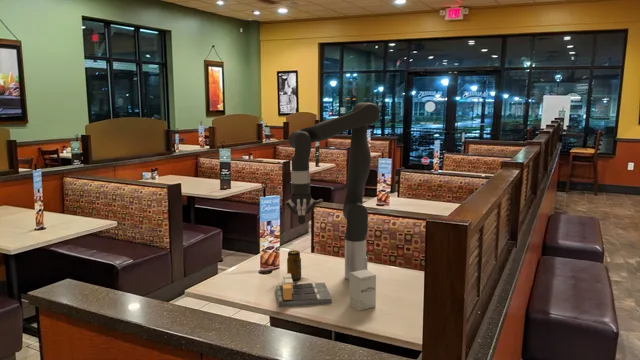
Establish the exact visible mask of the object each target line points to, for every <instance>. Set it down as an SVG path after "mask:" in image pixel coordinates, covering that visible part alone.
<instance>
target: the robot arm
mask: <svg viewBox="0 0 640 360" xmlns="http://www.w3.org/2000/svg"><path fill="white" fill-rule="evenodd" d="M380 116H381V112H380V108H379V106H378V105H376V104H375V103H372V102H358V103H356V104H355V105H354V106H353V107H352V111H351V113H348V114H345V115H340V116H338V117H334V118H328V119H327V120H323V121H321V122H318V123H316V124H313V125H311V126H308V127H304V128H301V129H300V128H299V129H297V130H295V131H293V132H291V134H290V135H288V136H289V137H288V144H289V146H290V147H292V148H293V149H294V152H293V153H294V155H293V156H292V157H291V162H290V163H291V173H290V174H291V175H290V178H291V179H290V182H291V183H290V188H291V195H290V197H289V198H290V199H288V200H287V201H285V205H286V206H287V207H288V209H289V210H290V211H291V212H292V213H293V214H294V215H297V222H298V224H299V225H304V223H305V222H306V215H307V214H310V213H311V212H312V211H313V209H314V207H316V205H317V201H316V200H315V199H313V198H312V195H311V174H310V157H311V151H312V143H313V144H314V143H319V142H322V141H326V140H327V139H329V138H332V137H334V136H335V137H336V136H337V135H340V134H342V133H344V132H347V131H350V130H351V131H350V132H351V137H350V147H349V148H350V149H349V155H348V156H349V157H348V165H347V177H346V178H347V179H346V181H347V182H346V192H345V198H344V201H343V207H342V214H343V217H344V219H345V220H346V231H345V232H344V278H345V279H346V280H348V281H350V272H355V271H361V270H368V257H367V234H368V229H369V227H368V226H369V212H368V209H367V208H366V206H365V205H363V193H364V188H365V186H366V183H367V180H368V178H369V175H370V171H371V163H372V162H371V160H372V156H371V149H370V146H369V143H368V128H369V126H371V125H374V124H375V123H377V121H378V120H380ZM309 203H310V204H309ZM292 204H293V205H294V206H295V207H296V208H294V206H292ZM308 205H309V206H308ZM307 206H308V207H307ZM306 208H307V209H306Z"/></svg>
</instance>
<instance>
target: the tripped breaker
mask: <svg viewBox="0 0 640 360" xmlns="http://www.w3.org/2000/svg"><path fill="white" fill-rule="evenodd" d="M282 285H283V284H282ZM283 298H284V300H292V288H291V284H286V285H283Z"/></svg>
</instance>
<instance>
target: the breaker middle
mask: <svg viewBox="0 0 640 360" xmlns="http://www.w3.org/2000/svg"><path fill="white" fill-rule="evenodd" d="M286 284H291V288H292V293H293V284H294V283H293V281H292V279H284V285H286Z"/></svg>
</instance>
